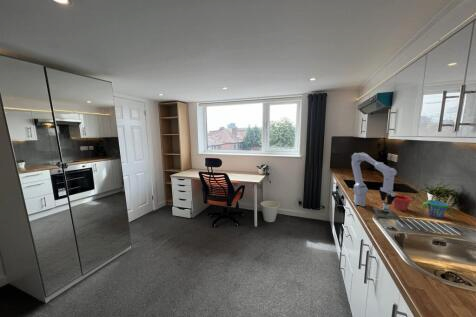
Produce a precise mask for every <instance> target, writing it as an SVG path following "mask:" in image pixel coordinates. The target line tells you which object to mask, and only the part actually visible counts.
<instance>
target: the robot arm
mask: <svg viewBox="0 0 476 317" xmlns="http://www.w3.org/2000/svg"><path fill="white" fill-rule="evenodd" d="M364 161H365V162H367V163H369V164H371V165H372V166H374V169H375V170H377V171H379V172H381V173H382V175H383V183H382V187H381V186H380V188H379V190H378V193H379V196H380V200H381V201H383V202H387V204H389V206H390V205H393V200H394V199H395V198H396V196H395V195H396V193H395V192H394V191H393V190H394V183H395V176H396V175H397V173H398V172H397V171H398V170H396V169H395V168H394V167H390V166H388V165H386V164H384V162H381V161H377V160H375V159H374V158H372V157H371V156H370V155H369V154H368V153H365V152H354V153H353V154H352V155H351V168H352V174H353V177H354V182H355V184H354V185H353V193H354V195H353V201H354V202H355V204H357V205H361V206H360V207H365V206H366V207H367V205H366V195H367V193H368V192H369V188H368V187H367V185H366V184H365V182H364V179H363V176H362V170H361V166H360V165H361V163H363V162H364ZM355 204H354V205H355Z"/></svg>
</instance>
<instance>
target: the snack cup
mask: <svg viewBox="0 0 476 317" xmlns="http://www.w3.org/2000/svg"><path fill="white" fill-rule="evenodd" d="M426 204H427V215H429V216H430V217H434V218H439V219H443V217H444V216H445V214H446V211H447V209H448V208H450V209H449V211H448V212H449V214H450V215H452V214H453V208H452V206H451V205H449V204H448V203H447V202H443V201H438V200H434V199H433V200H432V199H429V200H427V201H424V202H422V205H421V210H422V211H424V210H425V209H424V208H425V205H426Z"/></svg>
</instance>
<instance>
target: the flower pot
mask: <svg viewBox="0 0 476 317" xmlns="http://www.w3.org/2000/svg"><path fill="white" fill-rule="evenodd" d="M395 196H396V198H395V199H394V200H393V202H392V205H393V209H395V210H397V211H404V212H405V211H407V210H408V207H409V205H410V203H411V200H412V199H411V198H410V197H409V196H405V195H401V194H400V195H399V194H395Z"/></svg>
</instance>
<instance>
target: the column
mask: <svg viewBox="0 0 476 317" xmlns="http://www.w3.org/2000/svg"><path fill="white" fill-rule="evenodd" d="M389 208H390V204H387V201H383V202H382V207H381V209H382V211H383V212H389Z"/></svg>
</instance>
